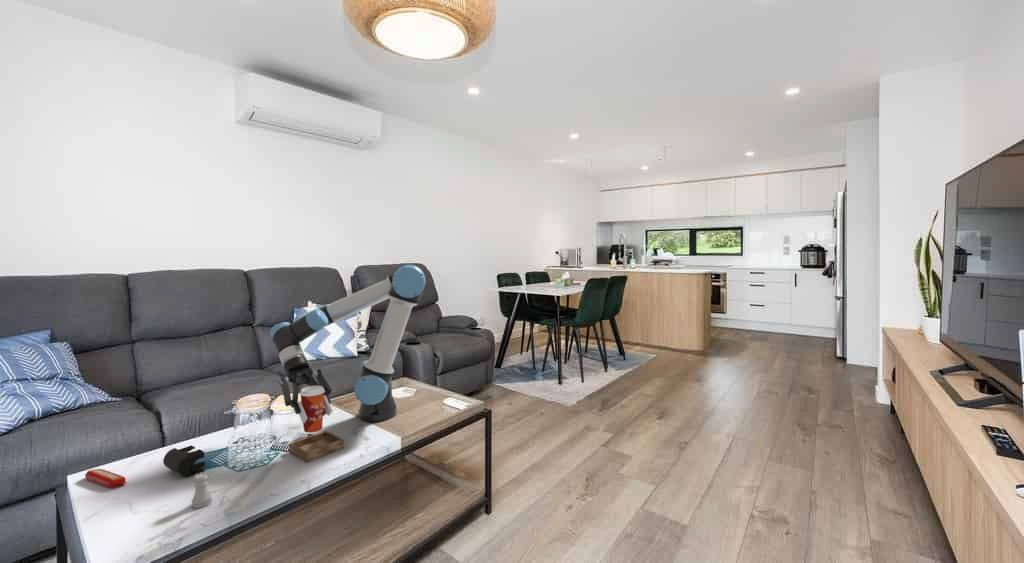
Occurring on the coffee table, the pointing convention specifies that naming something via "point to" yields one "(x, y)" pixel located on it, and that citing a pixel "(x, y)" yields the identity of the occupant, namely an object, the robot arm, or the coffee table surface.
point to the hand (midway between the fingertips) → (317, 416)
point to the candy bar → (105, 478)
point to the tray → (316, 446)
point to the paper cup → (313, 407)
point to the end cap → (184, 461)
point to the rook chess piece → (201, 491)
